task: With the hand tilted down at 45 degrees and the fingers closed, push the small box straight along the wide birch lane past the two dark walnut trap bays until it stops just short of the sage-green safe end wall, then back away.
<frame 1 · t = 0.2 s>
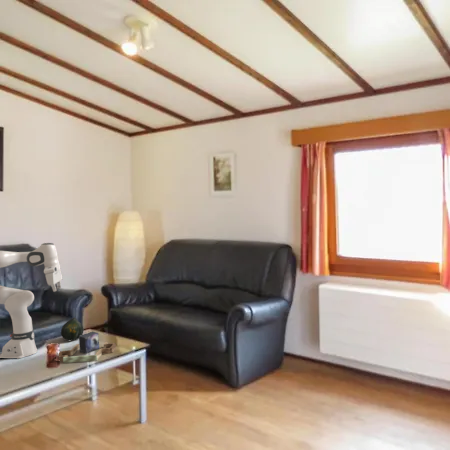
hand: (57, 289, 285), 39 cm above the table, tool pointing down, fingers open, 8 cm apart
small box: (90, 351, 283), on the table
squash: (72, 339, 311), on the table
trap lane: (87, 353, 277), on the table
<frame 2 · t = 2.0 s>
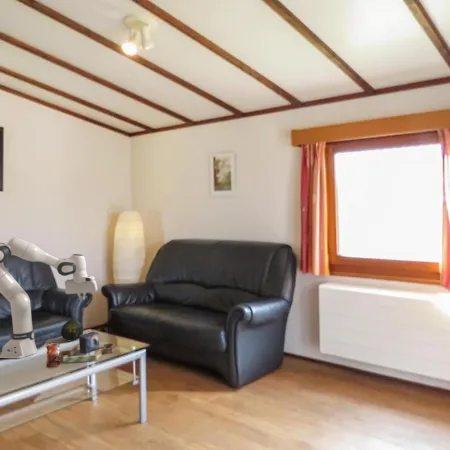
hand: (82, 299, 297), 29 cm above the table, tool pointing down, fingers closed
nothing on the table moved.
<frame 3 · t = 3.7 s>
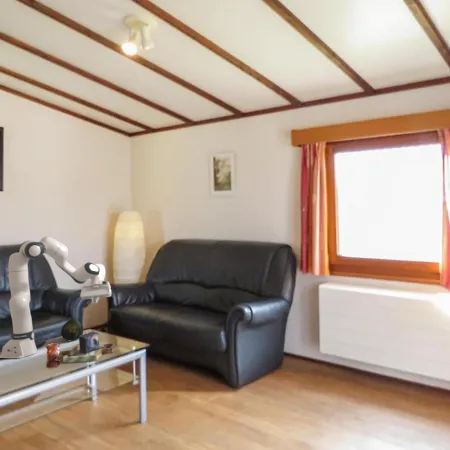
hand: (94, 303, 300), 26 cm above the table, tool tilted 45°, fingers closed
nothing on the table moved.
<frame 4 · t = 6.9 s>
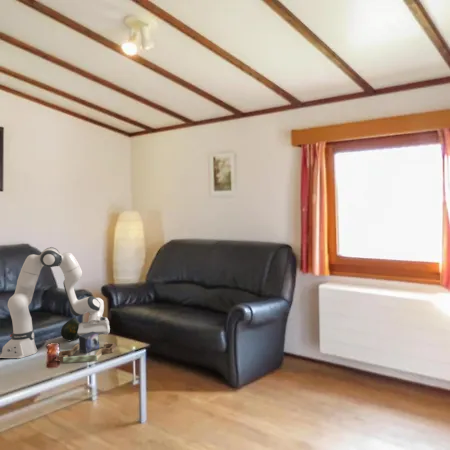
hand: (92, 340, 289), 4 cm above the table, tool tilted 45°, fingers closed
small box: (90, 351, 283), on the table, touching gripper
everything else where it was.
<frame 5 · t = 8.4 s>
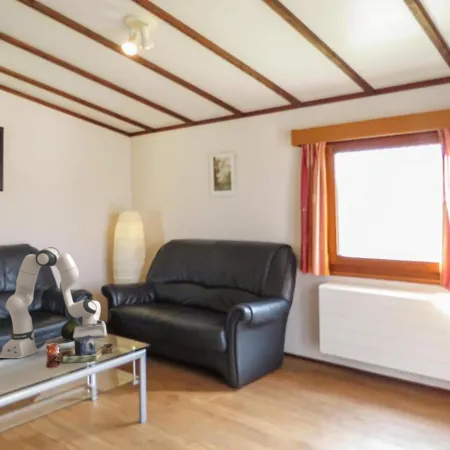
hand: (88, 344, 280), 4 cm above the table, tool tilted 45°, fingers closed
small box: (85, 355, 275), on the table, touching gripper
everything else where it was.
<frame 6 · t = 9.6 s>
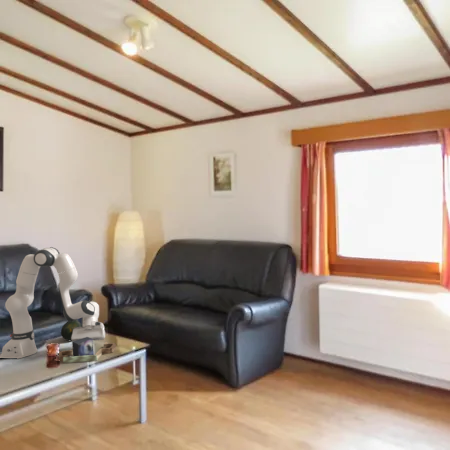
hand: (86, 346, 277), 4 cm above the table, tool tilted 45°, fingers closed
small box: (83, 357, 271), on the table, touching gripper
everything else where it was.
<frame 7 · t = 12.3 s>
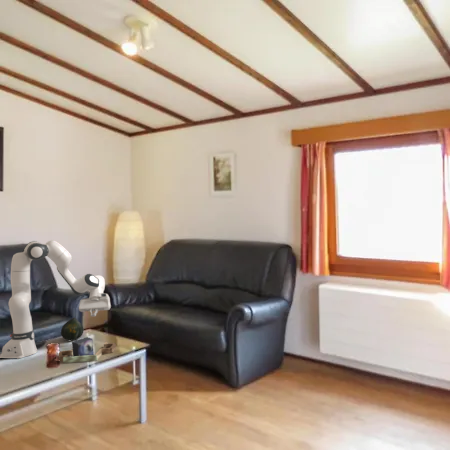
hand: (93, 315, 295), 19 cm above the table, tool tilted 45°, fingers closed
small box: (83, 357, 271), on the table
everything else where it was.
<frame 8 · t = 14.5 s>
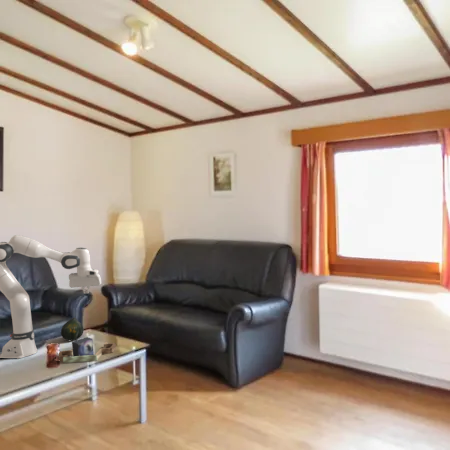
hand: (86, 293, 297), 33 cm above the table, tool pointing down, fingers closed
nothing on the table moved.
at the end: small box inside the target area (0.8 cm from its centre), on the table; small box tilted 0°; the gripper is holding nothing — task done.
